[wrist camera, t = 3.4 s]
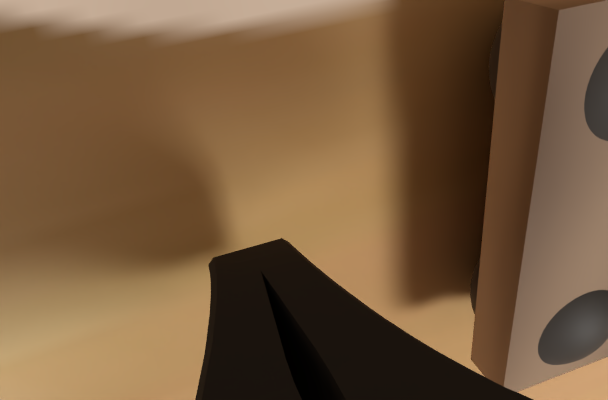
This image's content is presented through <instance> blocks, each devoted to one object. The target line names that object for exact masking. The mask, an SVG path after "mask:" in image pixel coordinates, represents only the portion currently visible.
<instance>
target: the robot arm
mask: <svg viewBox="0 0 608 400" xmlns="http://www.w3.org/2000/svg"><path fill="white" fill-rule="evenodd" d="M209 270H210V277H211V303H210V317H209V325H208V333H207V341H206V348H205V355H204V360H203V365H202V370H201V375H200V380H199V385H198V390H197V395H196V399H195V400H533V399H531V398H528V397H526V396H524V395H522V394H519V393H517V392H515V391H513V390H510V389H508V388H506V387H504V386H502V385H500V384H498V383H496V382H494V381H492V380H490V379H488V378H486V377H484V376H482V375H480V374H478V373H476V372H474V371H472V370H470V369H468V368H466V367H465V366H463V365H461V364H459V363H457V362H456V361H454V360H452V359H450V358H448V357H446V356H445V355H443V354H441V353H439V352H438V351H436V350H434V349H432V348H431V347H429V346H427V345H426V344H424V343H422V342H421V341H419V340H418V339H416V338H414V337H413V336H411V335H409V334H408V333H406V332H405V331H403V330H402V329H400V328H399V327H397V326H396V325H394V324H393V323H391V322H389V321H388V320H386V319H385V318H383V317H382V316H381V315H379V314H378V313H376V312H375V311H373V310H372V309H371V308H369V307H368V306H366V305H365V304H364V303H362V302H361V301H360V300H358V299H357V298H356V297H354V296H353V295H352V294H350V293H349V292H347V291H346V290H345V289H343V288H342V287H341V286H339V285H338V284H337V283H336V282H334V281H333V280H332V279H331V278H329V277H328V276H327V275H326V274H324V273H323V272H322V271H321V270H320V269H318V268H317V267H316V266H315V265H314V264H312V263H311V262H310V261H309V260H308V259H307V258H306V257H304V256H303V255H302V254H301V253H300V252H299V251H298V250H297V249H296V248H294V247H293V246H292V245H291V244H290V243H289V242H288V241H286V240H284V239H282V238H281V239H278V240H274V241H271V242H267V243H264V244H260V245H257V246H253V247H250V248H246V249H242V250H239V251H235V252H232V253H228V254H225V255H221V256H218V257H214V258H213V259H212V261H211V262H210V263H209Z"/></svg>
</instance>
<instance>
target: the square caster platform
mask: <svg viewBox="0 0 608 400" xmlns="http://www.w3.org/2000/svg"><path fill="white" fill-rule="evenodd" d="M489 79H490V85H491V90H492V93H493V96H494V98H495V106H494V117H493V127H492V138H491V149H490V160H489V170H488V181H487V192H486V203H485V213H484V224H483V235H482V245H481V256H480V258H479V260H478V262H477V264H476V266H475V268H474V271H473V274H472V279H471V285H470V297H471V303H472V308H473V311H474V314H475V321H474V331H473V342H472V353H471V360H472V361H473V362H474V364H475V365H476V366H477V367H478V369H479V370H480V371H481V372H482V374H483V375H484V376H485V377H486V378H488V379H490V380H492V381H494V382H496V383H498V384H500V385H502V386H504V387H506V388H508V389H510V390H513V391H515V392H519V391H521V390H524V389H526V388H529V387H531V386H534V385H537V384H539V383H542V382H544V381H547V380H549V379H552V378H555V377H557V376H560V375H562V374H565V373H567V372H570V371H572V370H575V369H578V368H580V367H583V366H585V365H588V364H590V363H593V362H596V361H598V360H601V359H603V358H606V357H608V0H504V9H503V20H502V23H501V25H500V27H499V29H498V31H497V33H496V35H495V38H494V41H493V44H492V48H491V52H490V58H489Z"/></svg>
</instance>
